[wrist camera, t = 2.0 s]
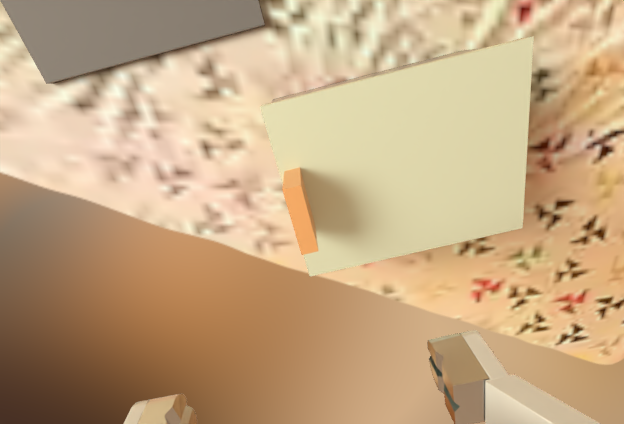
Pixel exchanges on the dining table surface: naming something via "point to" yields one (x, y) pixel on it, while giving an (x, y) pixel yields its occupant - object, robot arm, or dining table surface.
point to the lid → (406, 157)
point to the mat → (120, 29)
